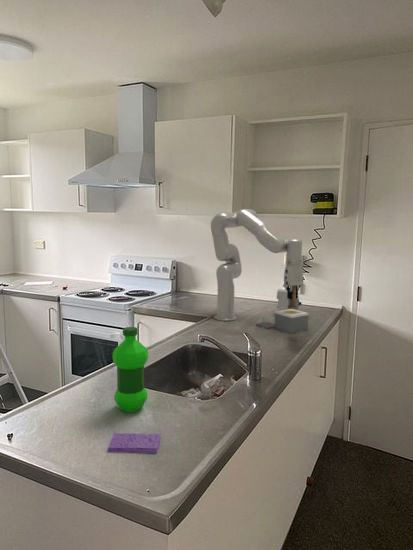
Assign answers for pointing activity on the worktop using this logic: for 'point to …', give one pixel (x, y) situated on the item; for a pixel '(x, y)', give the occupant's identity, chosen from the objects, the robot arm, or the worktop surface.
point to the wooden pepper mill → (293, 299)
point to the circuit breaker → (284, 300)
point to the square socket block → (291, 321)
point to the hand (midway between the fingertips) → (292, 298)
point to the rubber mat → (266, 325)
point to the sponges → (134, 442)
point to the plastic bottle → (130, 372)
